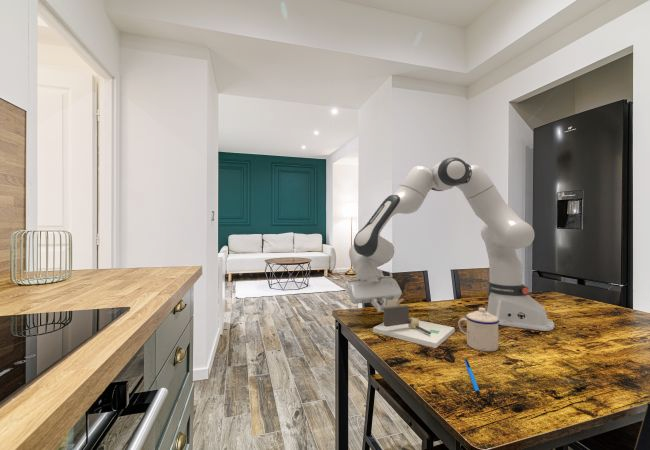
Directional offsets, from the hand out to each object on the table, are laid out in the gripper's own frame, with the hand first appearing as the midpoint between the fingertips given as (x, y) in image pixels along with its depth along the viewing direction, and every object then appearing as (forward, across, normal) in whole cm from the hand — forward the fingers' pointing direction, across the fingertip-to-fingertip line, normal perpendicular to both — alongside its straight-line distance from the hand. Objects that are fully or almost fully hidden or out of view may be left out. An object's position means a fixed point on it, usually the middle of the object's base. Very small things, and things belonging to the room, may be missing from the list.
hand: (382, 310), depth 109 cm
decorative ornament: (-10, +18, +20) cm, 29 cm away
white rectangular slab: (+9, +9, +1) cm, 13 cm away
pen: (+31, +4, -21) cm, 38 cm away
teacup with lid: (+21, +21, -11) cm, 31 cm away
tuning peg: (+10, +4, -3) cm, 11 cm away
